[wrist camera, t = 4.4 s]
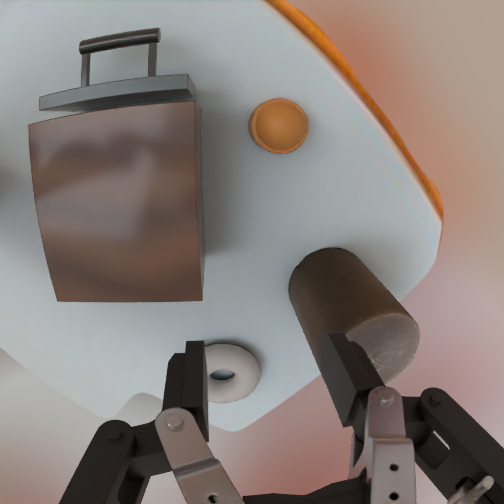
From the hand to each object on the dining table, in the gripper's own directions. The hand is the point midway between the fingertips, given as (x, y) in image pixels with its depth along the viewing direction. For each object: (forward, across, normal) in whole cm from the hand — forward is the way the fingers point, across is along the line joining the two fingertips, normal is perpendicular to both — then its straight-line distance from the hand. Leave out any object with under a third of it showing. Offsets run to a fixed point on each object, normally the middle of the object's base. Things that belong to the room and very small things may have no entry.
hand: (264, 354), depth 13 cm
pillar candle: (+22, -11, +9) cm, 26 cm away
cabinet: (+21, +10, -3) cm, 24 cm away
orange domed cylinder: (+21, -4, -9) cm, 24 cm away
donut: (+22, +2, +21) cm, 30 cm away
